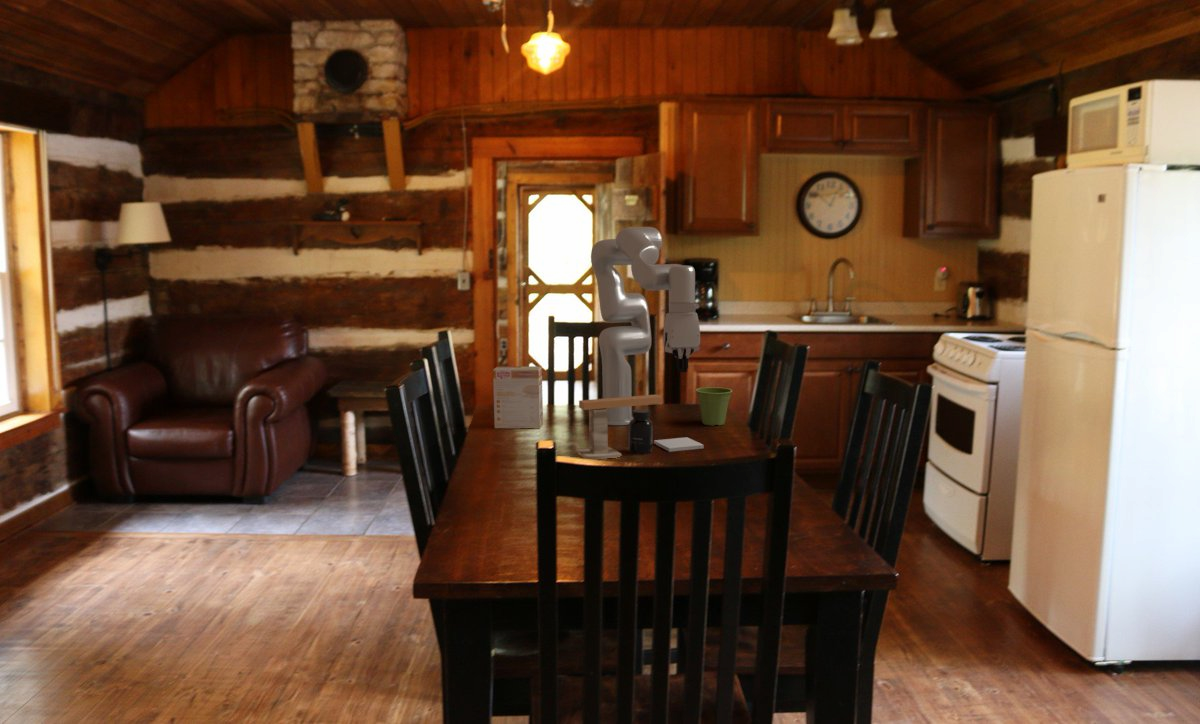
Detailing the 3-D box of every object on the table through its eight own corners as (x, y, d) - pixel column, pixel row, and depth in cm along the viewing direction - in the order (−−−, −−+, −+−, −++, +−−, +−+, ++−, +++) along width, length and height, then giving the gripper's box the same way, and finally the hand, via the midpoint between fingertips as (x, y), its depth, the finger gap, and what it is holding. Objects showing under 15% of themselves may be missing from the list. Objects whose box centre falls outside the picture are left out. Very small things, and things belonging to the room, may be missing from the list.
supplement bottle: (632, 455, 283) (632, 413, 281) (625, 449, 289) (625, 409, 287) (655, 453, 284) (655, 412, 283) (648, 448, 291) (648, 408, 289)
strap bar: (579, 407, 280) (579, 400, 280) (656, 401, 289) (656, 394, 288) (583, 410, 276) (583, 403, 276) (662, 403, 285) (662, 396, 285)
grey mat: (653, 443, 296) (653, 440, 296) (687, 440, 300) (687, 437, 300) (669, 451, 286) (669, 448, 286) (703, 448, 290) (703, 444, 290)
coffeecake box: (543, 424, 325) (542, 365, 322) (540, 429, 318) (538, 369, 315) (498, 424, 326) (497, 365, 324) (494, 428, 319) (492, 369, 317)
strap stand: (576, 453, 285) (575, 406, 283) (608, 450, 289) (608, 404, 287) (588, 461, 276) (587, 413, 274) (621, 457, 279) (621, 410, 277)
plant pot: (730, 428, 317) (731, 393, 315) (693, 427, 319) (693, 392, 317) (733, 420, 328) (733, 387, 327) (697, 419, 331) (697, 386, 329)
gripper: (699, 306, 291) (699, 368, 294) (652, 308, 286) (653, 371, 288) (711, 308, 284) (711, 371, 287) (663, 310, 279) (664, 375, 281)
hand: (682, 371), depth 287 cm, fingers closed
